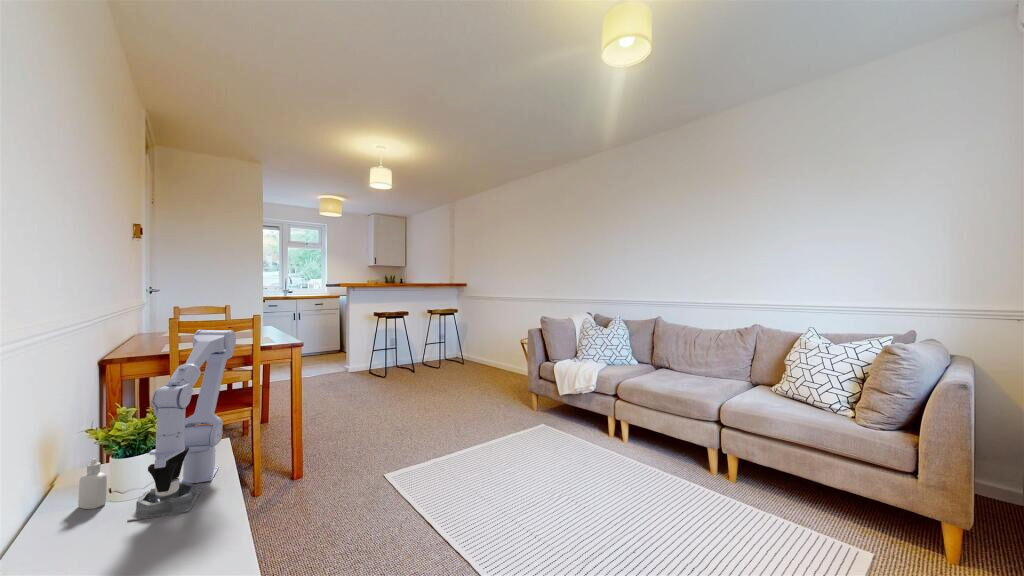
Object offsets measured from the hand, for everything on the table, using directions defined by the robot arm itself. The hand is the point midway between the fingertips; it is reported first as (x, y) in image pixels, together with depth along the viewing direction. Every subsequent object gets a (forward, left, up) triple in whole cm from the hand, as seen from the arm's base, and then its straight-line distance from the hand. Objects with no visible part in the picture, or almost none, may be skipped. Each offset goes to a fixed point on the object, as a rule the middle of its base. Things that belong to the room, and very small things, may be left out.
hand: (168, 484), depth 105 cm
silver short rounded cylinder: (0, 0, -5) cm, 5 cm away
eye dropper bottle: (-6, -17, -6) cm, 19 cm away
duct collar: (0, 0, -5) cm, 5 cm away
